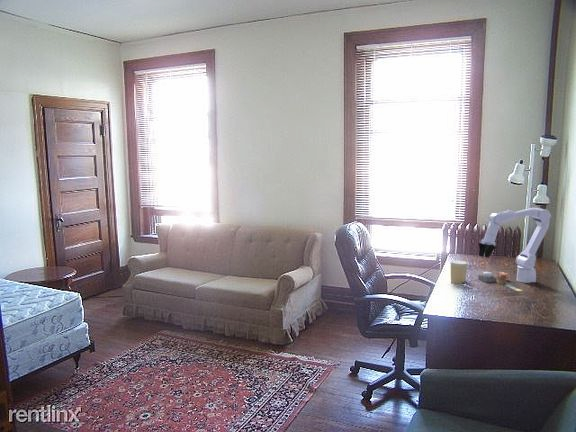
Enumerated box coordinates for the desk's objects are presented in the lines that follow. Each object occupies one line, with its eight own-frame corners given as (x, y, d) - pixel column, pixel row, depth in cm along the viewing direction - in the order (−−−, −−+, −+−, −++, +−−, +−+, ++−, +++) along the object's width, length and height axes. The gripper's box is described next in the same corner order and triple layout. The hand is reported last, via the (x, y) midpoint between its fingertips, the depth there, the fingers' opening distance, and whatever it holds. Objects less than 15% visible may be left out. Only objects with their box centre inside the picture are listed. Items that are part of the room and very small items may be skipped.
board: (502, 279, 264) (502, 273, 264) (534, 292, 240) (535, 285, 240) (474, 281, 260) (474, 275, 259) (504, 294, 236) (504, 287, 235)
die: (501, 278, 262) (502, 271, 262) (508, 280, 259) (508, 273, 258) (497, 279, 260) (497, 272, 260) (503, 281, 257) (504, 274, 256)
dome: (488, 276, 260) (488, 271, 260) (493, 278, 256) (494, 273, 255) (481, 277, 259) (481, 272, 259) (486, 279, 255) (486, 274, 254)
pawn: (502, 282, 254) (503, 273, 253) (507, 284, 250) (508, 275, 249) (497, 282, 253) (497, 274, 252) (501, 284, 249) (502, 276, 248)
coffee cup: (465, 280, 262) (466, 260, 260) (467, 285, 253) (468, 264, 251) (448, 279, 264) (449, 259, 263) (449, 284, 255) (451, 263, 254)
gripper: (489, 233, 260) (482, 255, 262) (478, 230, 250) (471, 253, 252) (501, 236, 255) (494, 259, 256) (491, 234, 245) (483, 257, 247)
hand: (483, 256), depth 254 cm, fingers open, 7 cm apart
